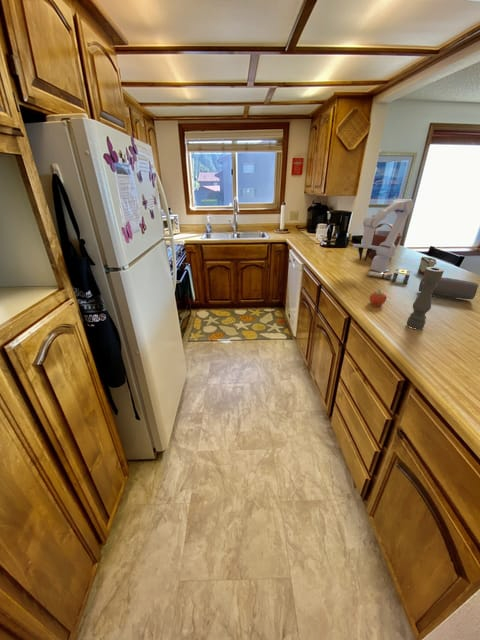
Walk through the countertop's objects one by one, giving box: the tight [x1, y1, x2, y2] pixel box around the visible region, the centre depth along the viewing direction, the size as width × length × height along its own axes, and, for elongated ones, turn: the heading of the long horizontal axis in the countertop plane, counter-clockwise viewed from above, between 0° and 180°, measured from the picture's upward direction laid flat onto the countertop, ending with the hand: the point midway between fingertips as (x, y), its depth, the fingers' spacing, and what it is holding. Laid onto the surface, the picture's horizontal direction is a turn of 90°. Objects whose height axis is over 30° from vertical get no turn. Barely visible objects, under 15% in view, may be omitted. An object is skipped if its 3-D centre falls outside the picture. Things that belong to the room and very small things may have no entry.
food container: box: [417, 256, 437, 277], centre depth 166 cm, size 12×6×10 cm, turn 168°
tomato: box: [369, 289, 387, 307], centre depth 128 cm, size 7×7×8 cm
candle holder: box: [406, 266, 445, 330], centre depth 105 cm, size 6×6×25 cm
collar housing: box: [391, 268, 412, 285], centre depth 157 cm, size 8×9×6 cm
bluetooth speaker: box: [418, 276, 479, 300], centre depth 135 cm, size 23×9×10 cm, turn 59°
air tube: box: [367, 270, 393, 280], centre depth 164 cm, size 13×3×3 cm, turn 57°
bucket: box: [367, 222, 403, 260], centre depth 198 cm, size 24×22×25 cm
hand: (362, 260), depth 165 cm, fingers open, 2 cm apart
